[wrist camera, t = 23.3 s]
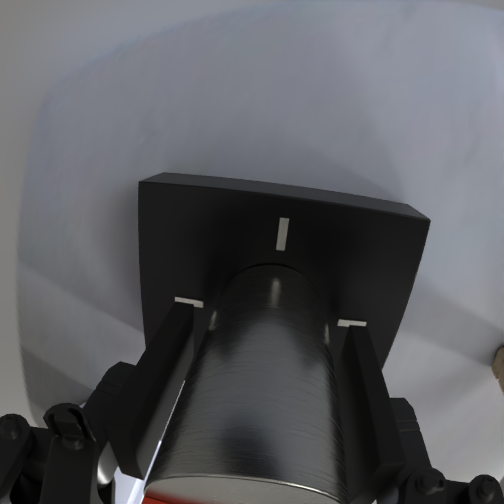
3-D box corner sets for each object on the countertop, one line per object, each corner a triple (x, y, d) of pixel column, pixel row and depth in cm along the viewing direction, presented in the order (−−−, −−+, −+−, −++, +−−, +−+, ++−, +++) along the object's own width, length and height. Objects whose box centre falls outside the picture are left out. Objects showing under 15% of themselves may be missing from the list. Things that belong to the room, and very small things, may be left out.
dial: (334, 271, 14) (386, 494, 4) (313, 360, 16) (318, 555, 6) (221, 256, 14) (118, 461, 5) (216, 347, 16) (154, 534, 6)
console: (409, 204, 15) (433, 220, 12) (360, 370, 19) (368, 404, 16) (162, 172, 16) (136, 181, 13) (164, 343, 20) (147, 374, 17)
